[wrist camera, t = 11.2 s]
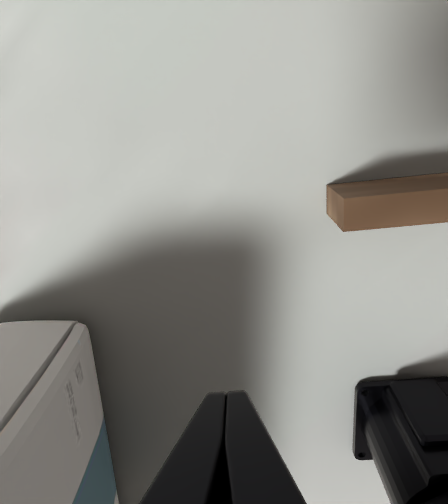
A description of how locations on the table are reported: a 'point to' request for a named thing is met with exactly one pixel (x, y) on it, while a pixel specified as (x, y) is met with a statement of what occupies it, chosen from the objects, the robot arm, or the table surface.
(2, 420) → the stereo radio cassette player
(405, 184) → the rack bay
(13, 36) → the table surface
